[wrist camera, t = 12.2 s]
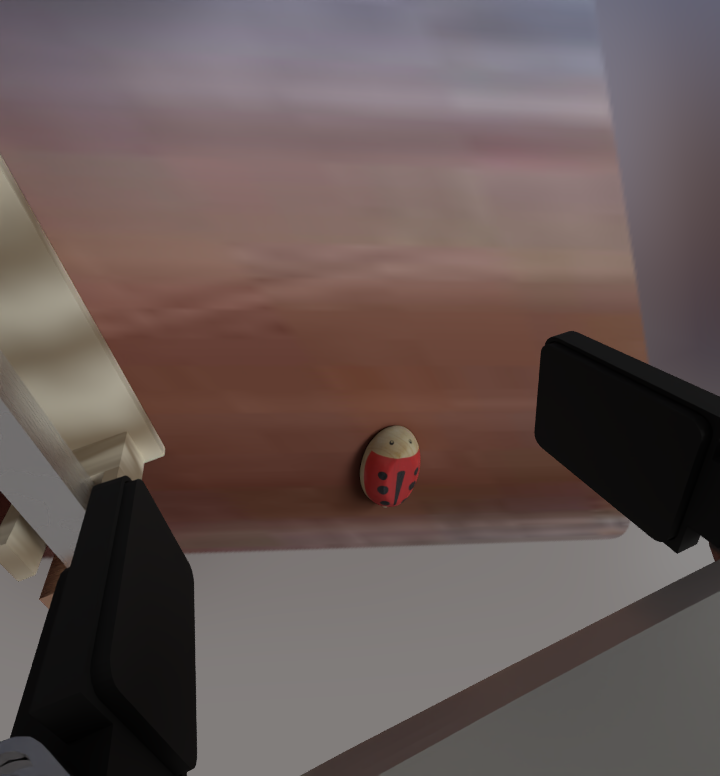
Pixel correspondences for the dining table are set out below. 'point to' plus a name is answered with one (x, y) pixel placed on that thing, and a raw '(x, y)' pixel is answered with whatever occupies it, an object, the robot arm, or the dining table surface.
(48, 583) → the steel bar
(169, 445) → the dining table surface
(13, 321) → the hanger stand
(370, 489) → the ladybug figurine
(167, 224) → the dining table surface
